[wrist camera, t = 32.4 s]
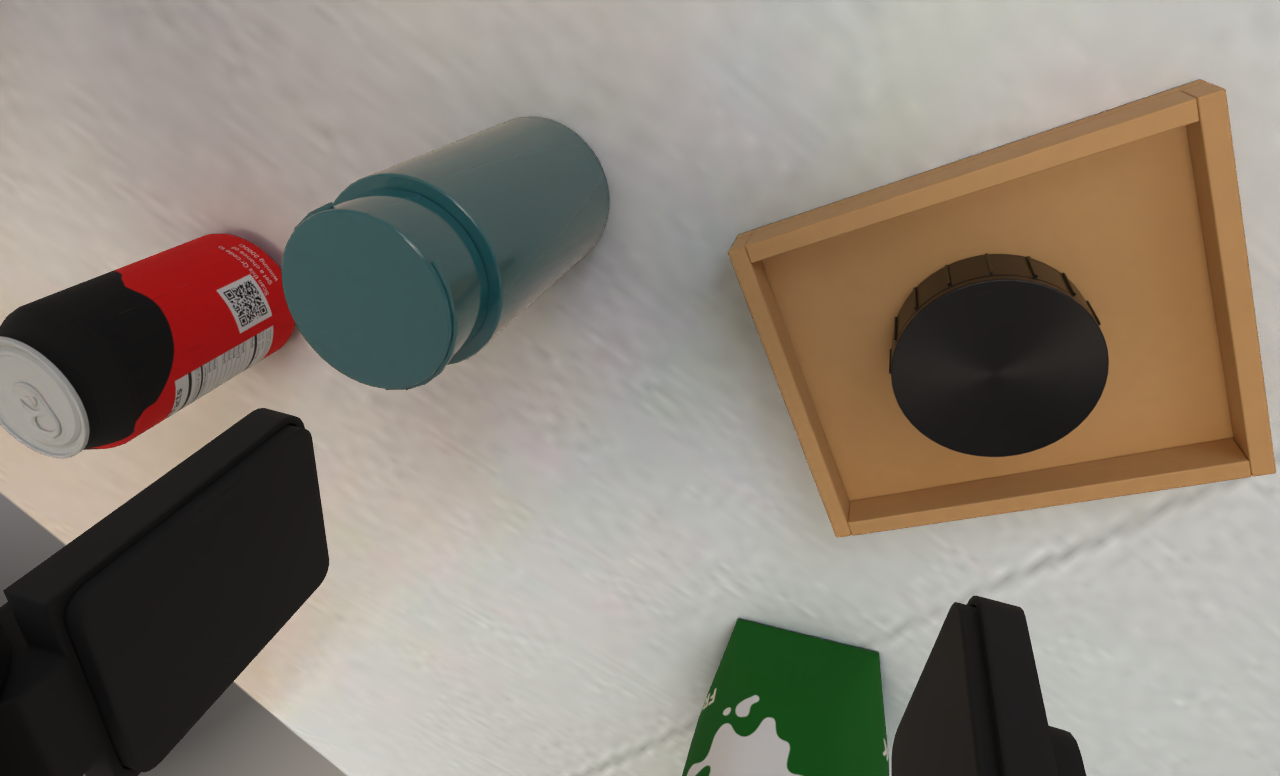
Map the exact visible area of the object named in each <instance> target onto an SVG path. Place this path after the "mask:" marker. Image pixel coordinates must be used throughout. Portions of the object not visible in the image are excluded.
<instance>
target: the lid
mask: <svg viewBox="0 0 1280 776" xmlns="http://www.w3.org/2000/svg"><path fill="white" fill-rule="evenodd" d="M1099 325H1101V323H1100V321H1099V319H1098V317H1097V316H1096V314H1095V312H1094V310H1093V308H1092V307H1091V305H1090V303H1089V301H1085V299H1084V297H1083V296H1082V294H1081V293H1080V292H1079V290H1078V289H1077V287H1076V286H1075V285H1074V284H1073V283H1072V282H1071V281H1070V280H1069V279H1068V277H1067V275H1066V274H1065V273H1060V272H1059V271H1058V270H1056V269H1054V268H1053V267H1051V266H1049V265H1047V264H1045V263H1042V262H1040V261H1037V260H1035V259H1032V258H1030V256H1027V257H1024V256H1019V255H1011V254H988V253H985V255H979V256H974V257H970V258H966V259H963V260H960V261H957V262H954V263H952V264H950V265H948V264H947V265H945V267H943V268H941V269H940V270H938V271H936V272H935V273H933V274H932V275H930V276H929V277H928V278H926V279H925V280H924V281H923V282H921V283H920V284H919V285H918V286H917V287H914V288H913V291H912V292H911V294H910V295H909V297H908V298H907V299H906V301H905V302H904V304H903V306H902V307H901V309H900V311H899V313H898V316H897V317H895V318H894V329H893V334H892V349H890V357H889V374H891V381H892V387H893V392H894V395H895V398H896V400H897V403H898V405H899V407H900V409H901V410H902V412H903V414H904V415H905V417H906V418H907V419H908V420H909V422H910V423H911V424H912V425H913V426H914V427H915V428H916V429H917V430H918V431H919V432H921V433H922V434H923V435H925V436H926V437H927V438H929V439H930V440H932V441H934V442H935V443H937V444H939V445H941V446H943V447H946V448H948V449H950V450H953V451H957V452H960V453H963V454H968V455H974V456H982V457H1006V456H1015V455H1020V454H1024V453H1029V452H1032V451H1035V450H1038V449H1041V448H1044V447H1046V446H1048V445H1050V444H1052V443H1055V442H1057V441H1058V440H1060V439H1061V438H1063V437H1065V436H1066V435H1068V434H1069V433H1070V432H1072V431H1073V430H1074V429H1076V428H1077V427H1078V426H1079V425H1080V424H1081V423H1082V422H1083V421H1084V420H1085V419H1086V418H1087V417H1088V416H1089V414H1090V413H1091V412H1092V410H1093V409H1094V408H1095V406H1096V405H1097V403H1098V401H1099V399H1100V397H1101V396H1102V393H1103V390H1104V388H1105V385H1106V381H1107V377H1108V370H1109V356H1108V348H1107V345H1106V341H1105V338H1104V335H1103V333H1102V331H1101V329H1100V327H1099Z"/></svg>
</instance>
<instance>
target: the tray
mask: <svg viewBox="0 0 1280 776" xmlns="http://www.w3.org/2000/svg"><path fill="white" fill-rule="evenodd" d="M985 253H988V254H1011V255H1019V256H1024V257H1027V256H1030V258H1032V259H1035V260H1037V261H1040V262H1042V263H1045V264H1047V265H1049V266H1051V267H1053V268H1054V269H1056V270H1058V271H1059V272H1060V273H1065V274H1066V275H1067V277H1068V279H1069V280H1070V281H1071V282H1072V283H1073V284H1074V285H1075V286H1076V287H1077V289H1078V290H1079V292H1080V293H1081V294H1082V296H1083V297H1084V299H1085V301H1089V303H1090V305H1091V307H1092V308H1093V310H1094V312H1095V314H1096V316H1097V317H1098V319H1099V321H1100V323H1101V325H1099V327H1100V329H1101V331H1102V333H1103V335H1104V338H1105V341H1106V345H1107V348H1108V356H1109V370H1108V377H1107V381H1106V385H1105V388H1104V390H1103V393H1102V396H1101V397H1100V399H1099V401H1098V403H1097V405H1096V406H1095V408H1094V409H1093V410H1092V412H1091V413H1090V414H1089V416H1088V417H1087V418H1086V419H1085V420H1084V421H1083V422H1082V423H1081V424H1080V425H1079V426H1078V427H1077V428H1076V429H1074V430H1073V431H1072V432H1070V433H1069V434H1068V435H1066V436H1065V437H1063V438H1061V439H1060V440H1058V441H1057V442H1055V443H1052V444H1050V445H1048V446H1046V447H1044V448H1041V449H1038V450H1035V451H1032V452H1029V453H1024V454H1020V455H1015V456H1006V457H982V456H974V455H968V454H963V453H960V452H957V451H953V450H950V449H948V448H946V447H943V446H941V445H939V444H937V443H935V442H934V441H932V440H930V439H929V438H927V437H926V436H925V435H923V434H922V433H921V432H919V431H918V430H917V429H916V428H915V427H914V426H913V425H912V424H911V423H910V422H909V420H908V419H907V418H906V417H905V415H904V414H903V412H902V410H901V409H900V407H899V405H898V403H897V400H896V398H895V395H894V392H893V387H892V381H891V374H889V357H890V349H892V334H893V329H894V318H895V317H897V316H898V313H899V311H900V309H901V307H902V306H903V304H904V302H905V301H906V299H907V298H908V297H909V295H910V294H911V292H912V291H913V288H914V287H917V286H918V285H919V284H920V283H921V282H923V281H924V280H925V279H926V278H928V277H929V276H930V275H932V274H933V273H935V272H936V271H938V270H940V269H941V268H943V267H945V265H947V264H948V265H950V264H952V263H954V262H957V261H960V260H963V259H966V258H970V257H974V256H979V255H985ZM728 255H729V257H730V260H731V262H732V265H733V268H734V270H735V273H736V276H737V278H738V281H739V283H740V286H741V289H742V291H743V294H744V297H745V299H746V302H747V304H748V307H749V310H750V312H751V315H752V318H753V320H754V323H755V325H756V328H757V331H758V333H759V336H760V339H761V341H762V344H763V346H764V349H765V352H766V354H767V357H768V360H769V362H770V365H771V367H772V370H773V373H774V375H775V378H776V381H777V383H778V386H779V388H780V391H781V394H782V396H783V399H784V402H785V404H786V407H787V409H788V412H789V415H790V417H791V420H792V423H793V425H794V428H795V430H796V433H797V436H798V438H799V441H800V443H801V446H802V449H803V451H804V454H805V457H806V459H807V462H808V464H809V467H810V470H811V472H812V475H813V478H814V480H815V483H816V485H817V488H818V491H819V493H820V496H821V499H822V501H823V504H824V506H825V509H826V512H827V514H828V517H829V520H830V522H831V525H832V527H833V530H834V533H835V535H836V537H844V536H850V535H860V534H867V533H873V532H880V531H887V530H894V529H901V528H907V527H914V526H921V525H928V524H934V523H941V522H948V521H955V520H962V519H968V518H975V517H982V516H989V515H995V514H1002V513H1009V512H1016V511H1023V510H1029V509H1036V508H1043V507H1050V506H1057V505H1063V504H1070V503H1077V502H1084V501H1090V500H1097V499H1104V498H1111V497H1118V496H1124V495H1131V494H1138V493H1145V492H1151V491H1158V490H1165V489H1172V488H1179V487H1185V486H1192V485H1199V484H1206V483H1212V482H1219V481H1226V480H1233V479H1240V478H1246V477H1251V475H1252V476H1259V475H1266V474H1273V473H1276V468H1275V460H1274V453H1273V445H1272V438H1271V430H1270V423H1269V415H1268V407H1267V400H1266V392H1265V385H1264V377H1263V370H1262V362H1261V355H1260V347H1259V339H1258V332H1257V324H1256V317H1255V309H1254V302H1253V294H1252V287H1251V279H1250V271H1249V264H1248V256H1247V249H1246V241H1245V234H1244V226H1243V218H1242V211H1241V203H1240V196H1239V188H1238V181H1237V173H1236V166H1235V158H1234V150H1233V143H1232V135H1231V128H1230V120H1229V113H1228V105H1227V97H1226V90H1225V89H1224V88H1221V87H1219V86H1216V85H1213V84H1211V83H1208V82H1206V81H1203V80H1197V81H1194V82H1191V83H1188V84H1185V85H1182V86H1179V87H1176V88H1173V89H1170V90H1167V91H1164V92H1161V93H1158V94H1155V95H1152V96H1149V97H1146V98H1143V99H1140V100H1137V101H1134V102H1131V103H1128V104H1125V105H1122V106H1119V107H1116V108H1113V109H1110V110H1108V111H1105V112H1102V113H1099V114H1096V115H1093V116H1090V117H1087V118H1084V119H1081V120H1078V121H1075V122H1072V123H1069V124H1066V125H1063V126H1060V127H1057V128H1054V129H1051V130H1048V131H1045V132H1042V133H1039V134H1036V135H1033V136H1030V137H1027V138H1024V139H1021V140H1018V141H1015V142H1012V143H1009V144H1006V145H1003V146H1001V147H998V148H995V149H992V150H989V151H986V152H983V153H980V154H977V155H974V156H971V157H968V158H965V159H962V160H959V161H956V162H953V163H950V164H947V165H944V166H941V167H938V168H935V169H932V170H929V171H926V172H923V173H920V174H917V175H914V176H911V177H908V178H905V179H902V180H899V181H897V182H894V183H891V184H888V185H885V186H882V187H879V188H876V189H873V190H870V191H867V192H864V193H861V194H858V195H855V196H852V197H849V198H846V199H843V200H840V201H837V202H834V203H831V204H828V205H825V206H822V207H819V208H816V209H813V210H810V211H807V212H804V213H801V214H798V215H795V216H792V217H790V218H787V219H784V220H781V221H778V222H775V223H772V224H769V225H766V226H763V227H760V228H757V229H754V230H751V231H748V232H745V233H742V234H739V235H738V236H737V238H736V240H735V241H734V243H733V245H732V246H731V248H730V250H729V251H728Z"/></svg>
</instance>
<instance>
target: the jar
mask: <svg viewBox="0 0 1280 776" xmlns="http://www.w3.org/2000/svg"><path fill="white" fill-rule="evenodd" d="M608 212H609V192H608V186H607V181H606V177H605V175H604V172H603V169H602V167H601V165H600V163H599V161H598V159H597V157H596V156H595V154H594V153H593V151H592V150H591V149H590V147H589V146H588V145H587V144H586V143H585V142H584V141H583V140H582V139H581V138H580V137H579V136H578V135H577V134H576V133H574V132H573V131H572V130H570V129H569V128H567V127H565V126H564V125H562V124H560V123H557V122H555V121H552V120H549V119H545V118H541V117H520V118H515V119H512V120H509V121H506V122H504V123H501V124H499V125H496V126H494V127H491V128H489V129H486V130H483V131H481V132H478V133H476V134H473V135H471V136H468V137H466V138H463V139H461V140H458V141H456V142H453V143H450V144H448V145H445V146H443V147H440V148H438V149H435V150H433V151H430V152H428V153H425V154H423V155H420V156H417V157H415V158H412V159H410V160H407V161H405V162H402V163H400V164H397V165H395V166H392V167H390V168H387V169H384V170H382V171H379V172H377V173H374V174H372V175H369V176H367V177H364V178H362V179H359V180H357V181H356V182H354V183H352V184H351V185H349V186H348V187H347V188H346V189H345V190H344V191H342V192H341V194H340V195H339V196H338V197H337V199H336V200H335V201H334V203H332V202H331V203H329V204H326V205H324V206H322V207H320V208H318V209H316V210H314V211H312V212H310V213H309V214H308V215H307V216H306V217H305V218H304V219H303V220H302V221H301V222H300V223H299V224H298V225H297V226H296V227H295V229H294V231H293V233H292V235H291V237H290V239H289V240H288V242H287V244H286V247H285V250H284V253H283V259H282V269H281V276H282V286H283V291H284V296H285V300H286V303H287V306H288V309H289V311H290V313H291V316H292V318H293V320H294V322H295V324H296V325H297V327H298V329H299V331H300V332H301V334H302V335H303V337H304V338H305V340H306V341H307V342H308V343H309V344H310V346H311V347H312V348H313V349H314V350H315V351H316V352H317V353H318V354H319V355H320V357H321V358H323V359H324V360H325V361H326V362H327V363H328V364H330V365H331V366H332V367H333V368H335V369H336V370H338V371H339V372H341V373H342V374H344V375H346V376H347V377H349V378H351V379H353V380H356V381H358V382H360V383H363V384H366V385H369V386H373V387H378V388H384V389H386V390H403V389H406V390H408V389H411V388H414V387H418V386H421V385H424V384H426V383H428V382H429V381H431V380H432V379H433V378H435V377H436V376H437V375H439V374H440V373H441V372H442V371H443V370H444V368H445V367H446V365H450V364H454V363H458V362H461V361H463V360H466V359H468V358H470V357H471V356H473V355H475V354H476V353H477V352H479V351H480V350H481V349H482V348H483V347H484V346H485V345H487V344H488V343H489V342H490V341H491V340H492V339H493V338H494V337H495V336H496V335H498V334H499V333H500V332H501V331H502V330H503V329H504V328H505V327H506V326H507V325H509V324H510V323H511V322H512V321H513V320H514V319H515V318H516V317H517V316H518V315H520V314H521V313H522V312H523V311H524V310H525V309H526V308H527V307H528V306H529V305H531V304H532V303H533V302H534V301H535V300H536V299H537V298H538V297H539V296H540V295H542V294H543V293H544V292H545V291H546V290H547V289H548V288H549V287H550V286H551V285H553V284H554V283H555V282H556V281H557V280H558V279H559V278H560V277H561V276H562V275H564V274H565V273H566V272H567V271H568V270H569V269H570V268H571V267H572V266H573V265H575V264H576V263H577V262H578V261H579V260H580V259H581V258H582V257H583V256H584V255H586V254H587V253H588V252H589V251H590V250H591V249H592V248H593V247H594V245H595V244H596V243H597V242H598V240H599V238H600V237H601V235H602V233H603V231H604V228H605V226H606V222H607V219H608Z"/></svg>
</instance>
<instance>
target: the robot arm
mask: <svg viewBox="0 0 1280 776" xmlns="http://www.w3.org/2000/svg"><path fill="white" fill-rule="evenodd" d="M328 567H329V556H328V549H327V541H326V534H325V527H324V520H323V513H322V506H321V499H320V492H319V484H318V477H317V470H316V463H315V456H314V449H313V442H312V436H311V433H310V432H309V431H308V430H306V429H305V427H304V424H303V422H302V421H301V419H300V418H298V417H296V416H292V415H288V414H285V413H281V412H277V411H273V410H269V409H266V408H260V409H257V410H255V411H253V412H251V413H250V414H248V415H247V416H245V417H244V418H243V419H241V420H240V421H239V422H237V423H236V424H234V425H233V426H232V427H230V428H229V429H227V430H226V431H225V432H223V433H222V434H220V435H219V436H218V437H216V438H215V439H214V440H212V441H211V442H209V443H208V444H207V445H205V446H204V447H202V448H201V449H200V450H198V451H197V452H195V453H194V454H193V455H191V456H190V457H188V458H187V459H186V460H184V461H183V462H182V463H180V464H179V465H177V466H176V467H175V468H173V469H172V470H170V471H169V472H168V473H166V474H165V475H163V476H162V477H161V478H159V479H158V480H157V481H155V482H154V483H152V484H151V485H150V486H148V487H147V488H145V489H144V490H143V491H141V492H140V493H138V494H137V495H136V496H134V497H133V498H131V499H130V500H129V501H127V502H126V503H125V504H123V505H122V506H120V507H119V508H118V509H116V510H115V511H113V512H112V513H111V514H109V515H108V516H106V517H105V518H104V519H102V520H101V521H100V522H98V523H97V524H95V525H94V526H93V527H91V528H90V529H88V530H87V531H86V532H84V533H83V534H81V535H80V536H79V537H77V538H76V539H74V540H73V541H72V542H70V543H69V544H68V545H66V546H65V547H63V548H62V549H61V550H59V551H58V552H56V553H55V554H54V555H52V556H51V557H50V558H48V559H47V560H45V561H44V562H42V563H41V564H40V565H38V566H37V567H36V568H34V569H33V570H31V571H30V572H29V573H27V574H26V575H24V576H23V577H22V578H20V579H19V580H17V581H16V582H15V583H13V584H12V585H11V586H9V587H8V588H7V589H5V590H4V593H5V596H6V598H7V600H8V602H7V603H6V604H4V605H3V606H2V607H0V776H83V775H84V774H85V775H86V776H138V775H139V774H140V773H141V772H147V771H150V770H151V769H153V768H154V767H156V766H157V765H158V764H159V763H160V762H161V761H162V760H163V759H164V758H165V757H166V756H167V754H168V753H169V752H170V751H171V750H172V749H173V748H174V747H175V746H176V744H177V743H178V742H179V741H180V740H181V739H182V738H183V737H184V736H185V735H186V733H187V732H188V731H189V730H190V729H191V728H192V727H193V726H194V724H195V723H196V722H197V721H198V720H199V719H200V718H201V717H202V716H203V715H204V713H205V712H206V711H207V710H208V709H209V708H210V707H211V706H212V704H213V703H214V702H215V701H216V700H217V699H218V698H219V697H220V696H221V695H222V693H223V692H224V691H225V690H226V689H227V688H228V687H229V686H230V684H231V683H232V682H233V681H234V680H235V679H236V678H237V677H238V676H239V675H240V673H241V672H242V671H243V670H244V669H245V668H246V667H247V666H248V665H249V663H250V662H251V661H252V660H253V659H254V658H255V657H256V656H257V655H258V653H259V652H260V651H261V650H262V649H263V648H264V647H265V646H266V645H267V643H268V642H269V641H270V640H271V639H272V638H273V637H274V636H275V635H276V633H277V632H278V631H279V630H280V629H281V628H282V627H283V626H284V625H285V623H286V622H287V621H288V620H289V619H290V618H291V617H292V616H293V615H294V613H295V612H296V611H297V610H298V609H299V608H300V607H301V606H302V605H303V603H304V602H305V601H306V600H307V599H308V598H309V597H310V596H311V594H312V593H313V592H314V591H315V590H316V589H317V588H318V587H319V586H320V584H321V583H322V582H323V580H324V578H325V576H326V574H327V571H328ZM892 776H1086V773H1085V769H1084V765H1083V761H1082V757H1081V753H1080V750H1079V747H1078V744H1077V742H1076V740H1075V738H1074V737H1073V736H1072V734H1071V733H1070V732H1067V731H1064V730H1061V729H1058V728H1054V727H1051V726H1048V722H1047V717H1046V712H1045V708H1044V703H1043V698H1042V693H1041V688H1040V684H1039V679H1038V674H1037V669H1036V665H1035V660H1034V655H1033V650H1032V646H1031V641H1030V636H1029V631H1028V627H1027V622H1026V617H1025V614H1024V611H1023V610H1022V609H1021V608H1020V607H1017V606H1013V605H1010V604H1006V603H1002V602H998V601H994V600H991V599H987V598H983V597H979V596H973V597H972V598H971V599H970V600H969V602H968V603H967V605H965V604H961V603H957V602H955V603H954V604H953V605H952V606H951V608H950V610H949V612H948V615H947V617H946V619H945V622H944V624H943V626H942V628H941V631H940V633H939V635H938V638H937V640H936V642H935V644H934V647H933V649H932V651H931V654H930V656H929V658H928V660H927V663H926V665H925V667H924V670H923V672H922V674H921V676H920V679H919V681H918V683H917V685H916V688H915V690H914V692H913V695H912V697H911V699H910V701H909V704H908V706H907V708H906V711H905V713H904V715H903V717H902V720H901V722H900V724H899V727H898V729H897V732H896V734H895V738H894V743H893V749H892Z"/></svg>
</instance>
